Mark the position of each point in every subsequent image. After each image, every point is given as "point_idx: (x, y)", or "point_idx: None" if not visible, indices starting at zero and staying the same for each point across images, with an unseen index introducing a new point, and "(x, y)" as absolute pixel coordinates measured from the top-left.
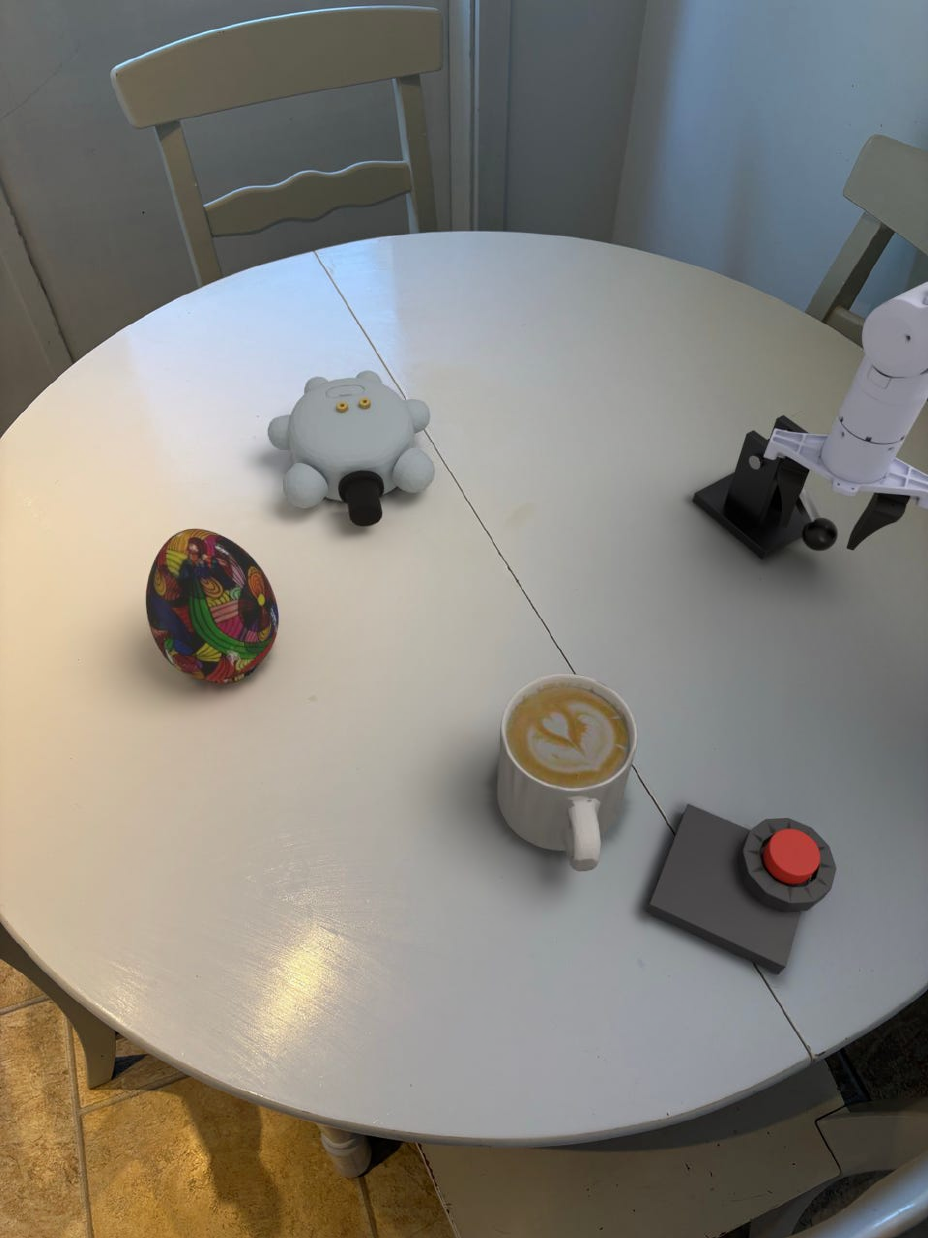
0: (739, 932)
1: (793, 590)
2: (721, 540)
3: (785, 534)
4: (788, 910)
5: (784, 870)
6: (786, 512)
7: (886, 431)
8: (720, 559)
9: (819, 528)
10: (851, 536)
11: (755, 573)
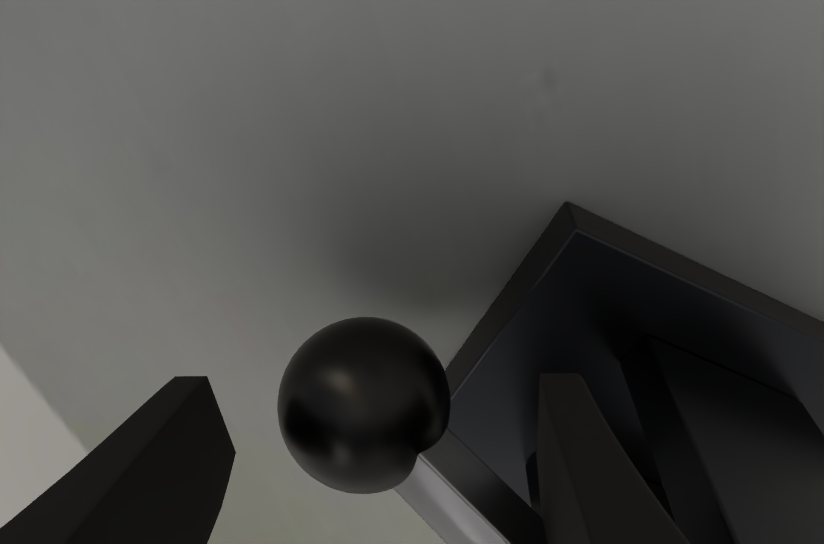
0: None
1: (374, 90)
2: (771, 224)
3: (509, 353)
4: None
5: None
6: (607, 473)
7: None
8: (771, 107)
9: (367, 433)
10: (197, 447)
11: (578, 104)
